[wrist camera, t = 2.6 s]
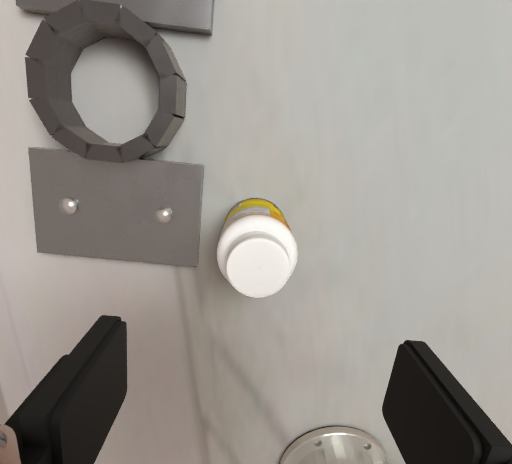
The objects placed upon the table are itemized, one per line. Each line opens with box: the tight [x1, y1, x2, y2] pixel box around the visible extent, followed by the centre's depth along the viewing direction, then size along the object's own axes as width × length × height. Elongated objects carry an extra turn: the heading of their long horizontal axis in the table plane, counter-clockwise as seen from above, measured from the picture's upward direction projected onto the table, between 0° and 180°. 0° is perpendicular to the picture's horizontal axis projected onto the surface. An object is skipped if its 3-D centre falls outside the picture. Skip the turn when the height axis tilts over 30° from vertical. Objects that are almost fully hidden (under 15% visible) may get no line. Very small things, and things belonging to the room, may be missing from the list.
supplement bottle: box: [217, 198, 298, 298], centre depth 24 cm, size 6×6×10 cm
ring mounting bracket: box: [16, 0, 214, 267], centre depth 24 cm, size 28×14×4 cm, turn 174°
